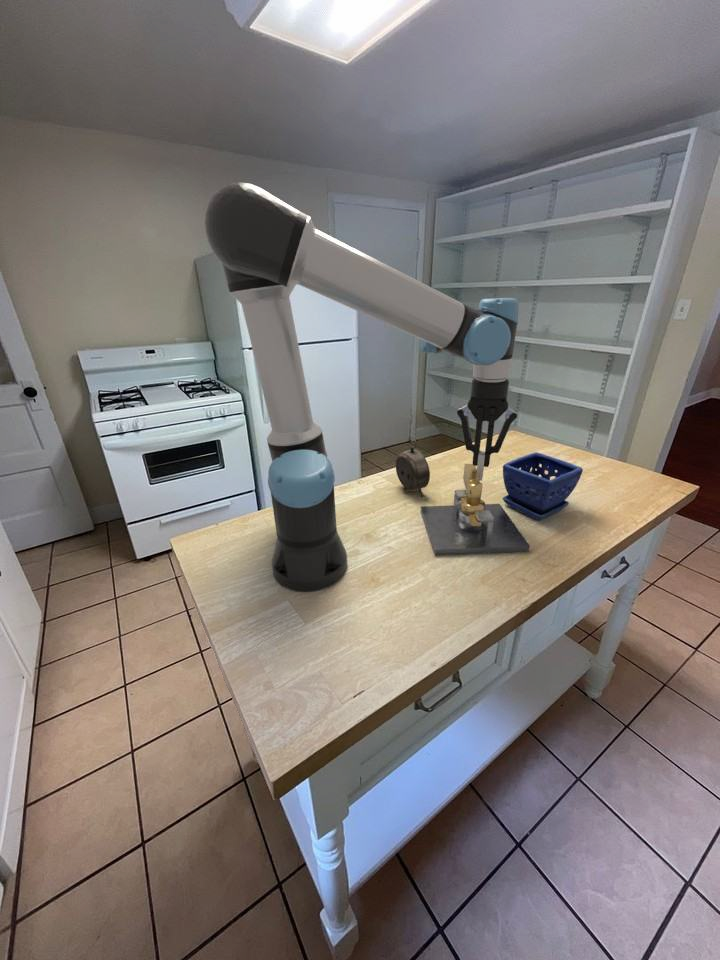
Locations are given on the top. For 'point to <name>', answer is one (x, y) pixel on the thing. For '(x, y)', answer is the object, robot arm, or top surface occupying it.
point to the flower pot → (539, 484)
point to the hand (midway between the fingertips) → (479, 477)
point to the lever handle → (472, 494)
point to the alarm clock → (412, 469)
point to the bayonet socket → (471, 530)
